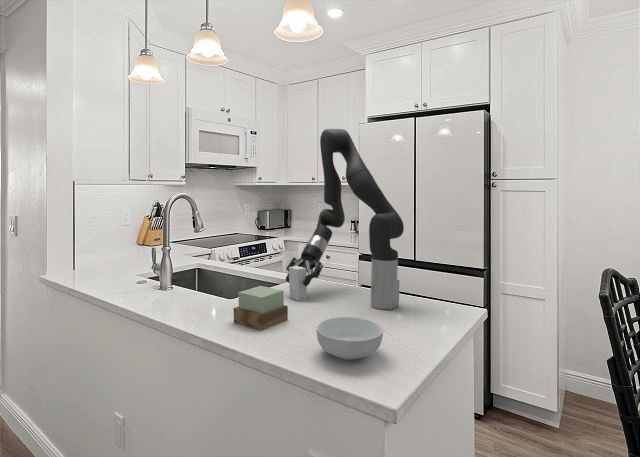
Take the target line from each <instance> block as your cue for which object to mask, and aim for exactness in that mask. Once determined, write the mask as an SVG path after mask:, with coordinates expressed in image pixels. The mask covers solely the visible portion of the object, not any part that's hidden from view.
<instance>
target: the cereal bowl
mask: <svg viewBox="0 0 640 457" xmlns="http://www.w3.org/2000/svg"><path fill="white" fill-rule="evenodd" d="M383 334H384V329H383V328H382V326H381V325H380V324H378V323H376V322H374V321H373V320H371V319H366V318H362V317H357V316H356V317H355V316H337V317H331V318H328V319H324V320H322V321H320V322H319V323H318V324H317V326H316V338H317V339H316V340H317V341H318V344H319V346H320V347H321V348H322V349H323V350H324V351H325V352H326V353H328V354H330V355H332V356H334V357H336V358H339V359H341V360H347V361H351V360H353V361H354V359H355V360H359V359H361V358H362V359H363V358H365V357H368V356H370V355H372V354H374V353H375V352H377V351H378V350H379V348H380V347H381V344H382V341H383Z"/></svg>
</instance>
